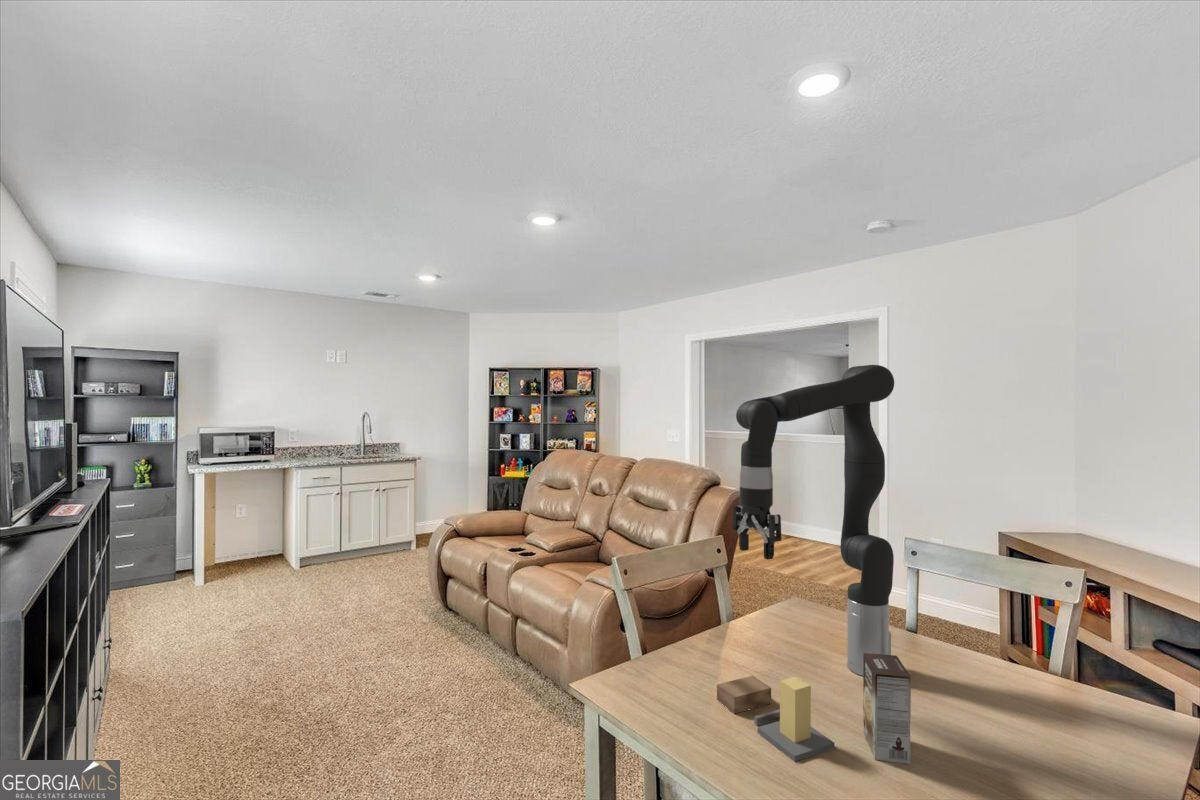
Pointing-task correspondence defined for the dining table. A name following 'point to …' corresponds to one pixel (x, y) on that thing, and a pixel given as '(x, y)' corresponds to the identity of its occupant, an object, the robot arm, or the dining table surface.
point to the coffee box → (886, 707)
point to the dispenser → (747, 697)
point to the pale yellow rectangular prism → (795, 709)
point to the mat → (797, 749)
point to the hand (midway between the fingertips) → (755, 554)
